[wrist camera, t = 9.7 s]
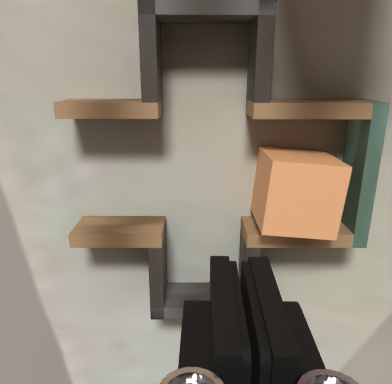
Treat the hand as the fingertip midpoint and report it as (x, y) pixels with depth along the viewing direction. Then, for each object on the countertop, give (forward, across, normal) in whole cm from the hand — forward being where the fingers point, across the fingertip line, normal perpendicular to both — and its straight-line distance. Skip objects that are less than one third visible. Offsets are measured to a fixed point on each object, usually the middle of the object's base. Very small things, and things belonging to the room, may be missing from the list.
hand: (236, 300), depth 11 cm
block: (+18, -6, +2) cm, 19 cm away
